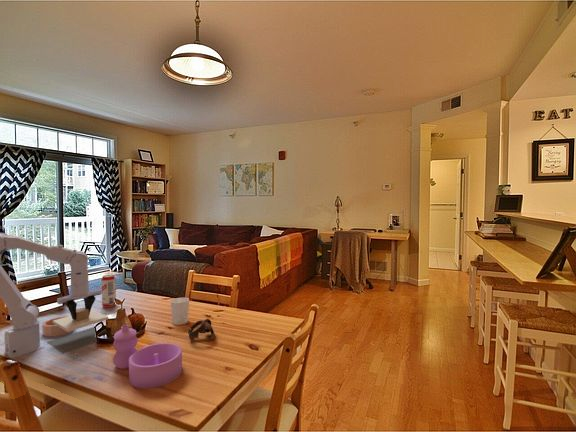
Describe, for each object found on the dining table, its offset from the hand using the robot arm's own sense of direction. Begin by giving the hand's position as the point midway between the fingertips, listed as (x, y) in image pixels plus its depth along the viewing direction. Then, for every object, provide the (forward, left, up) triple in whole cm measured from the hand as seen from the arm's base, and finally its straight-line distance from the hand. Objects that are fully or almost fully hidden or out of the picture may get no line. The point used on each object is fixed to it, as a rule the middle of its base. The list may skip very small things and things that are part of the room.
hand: (80, 317), depth 120 cm
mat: (0, 0, -9) cm, 9 cm away
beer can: (+25, +32, -9) cm, 42 cm away
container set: (+2, -42, -9) cm, 43 cm away
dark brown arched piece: (+28, -39, -9) cm, 49 cm away
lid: (0, 0, -2) cm, 2 cm away
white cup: (+33, -17, -9) cm, 38 cm away
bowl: (-2, +16, -9) cm, 18 cm away
